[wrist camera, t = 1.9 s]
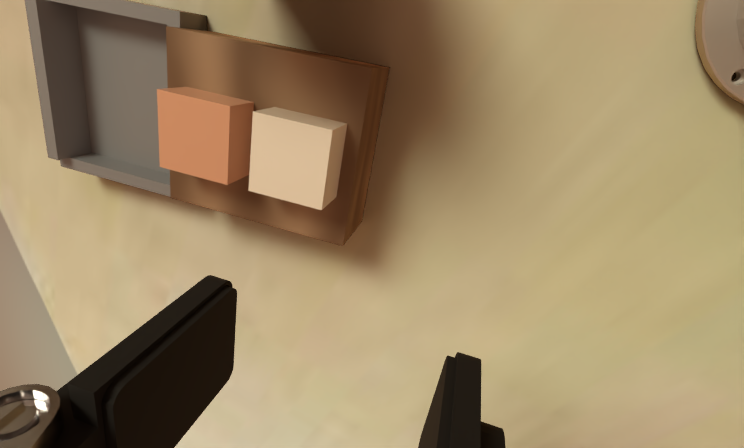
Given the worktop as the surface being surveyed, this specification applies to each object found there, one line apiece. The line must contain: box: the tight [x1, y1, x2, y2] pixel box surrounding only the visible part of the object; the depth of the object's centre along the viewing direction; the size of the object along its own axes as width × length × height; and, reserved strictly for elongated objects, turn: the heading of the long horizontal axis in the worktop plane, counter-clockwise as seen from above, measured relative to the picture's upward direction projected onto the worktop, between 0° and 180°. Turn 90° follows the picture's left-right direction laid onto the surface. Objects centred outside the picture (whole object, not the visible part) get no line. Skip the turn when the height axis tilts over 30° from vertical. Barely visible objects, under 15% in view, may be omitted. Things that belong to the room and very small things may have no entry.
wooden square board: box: [166, 26, 390, 246], centre depth 30 cm, size 14×12×5 cm
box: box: [25, 0, 207, 197], centre depth 33 cm, size 12×14×4 cm
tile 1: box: [157, 87, 254, 185], centre depth 27 cm, size 5×5×3 cm
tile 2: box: [248, 107, 347, 210], centre depth 26 cm, size 5×5×3 cm
